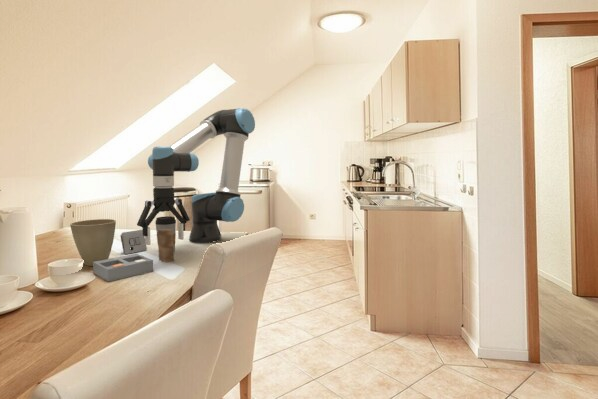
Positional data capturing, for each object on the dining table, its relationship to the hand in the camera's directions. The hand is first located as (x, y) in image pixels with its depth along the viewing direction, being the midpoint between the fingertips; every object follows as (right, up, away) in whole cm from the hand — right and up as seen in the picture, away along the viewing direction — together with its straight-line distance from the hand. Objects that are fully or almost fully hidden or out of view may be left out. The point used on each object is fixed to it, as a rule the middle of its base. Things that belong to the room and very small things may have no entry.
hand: (165, 241), depth 139 cm
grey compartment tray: (-9, -9, -14) cm, 19 cm away
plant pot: (-25, -8, -3) cm, 26 cm away
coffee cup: (-4, -6, +13) cm, 15 cm away
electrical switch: (-19, -6, +14) cm, 24 cm away
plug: (0, -7, +1) cm, 8 cm away
